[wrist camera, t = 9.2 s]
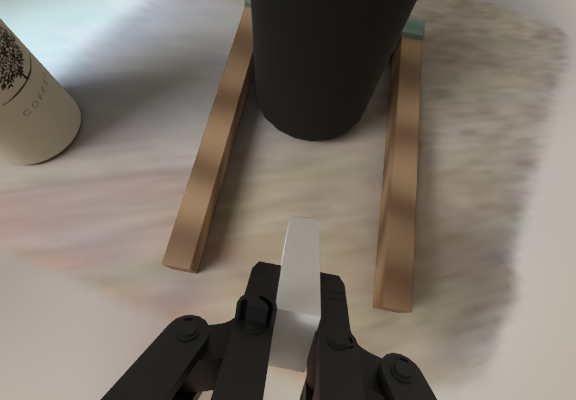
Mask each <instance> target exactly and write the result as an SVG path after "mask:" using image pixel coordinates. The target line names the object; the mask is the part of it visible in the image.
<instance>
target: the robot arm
mask: <svg viewBox="0 0 576 400" xmlns="http://www.w3.org/2000/svg"><path fill="white" fill-rule="evenodd" d="M345 294H346V293H345V285H344V283H343V282H342V280H341V279H340V277H339V276H336V275H331V274H326V273H321V272H320V253H319V220H313V219H308V218H303V217H298V216H293V215H290V219H289V224H288V229H287V234H286V239H285V244H284V249H283V254H282V259H281V265H275V264H270V263H265V262H260V261H259V262H258V263H257V264H256V265H255V266H254V267H253V268H252V271H251V274H250V278H249V281H248V285H247V288H246V291H245V294H244V295H243V296H242V297H240V299H239V300H238V302H237V307H236V314H235V318H234V319H232V320H231V321H228V322H226V323H222V324H215V325H208V324H207V322H206V321H205V320H204V319H202V318H201V317H199V316H194V315H185V316H182V317H179V318H176V319H175V320H174V321H172V322H171V323H170V324H169V325H168V326H167V327H166V328H165V329H164V330H163V332H162V333H161V334H160V335H159V336H158V337H157V338H156V339H155V340H154V341H153V343H152V344H151V345H150V346H149V347H148V348H147V349H146V350H145V351H144V353H143V354H142V355H141V356H140V357H139V358H138V359H137V360H136V362H134V364H133V365H132V366H131V367H130V368H129V369H128V370H127V371H126V373H125V374H124V375H123V376H122V377H121V378H120V379H119V380H118V381H117V382H116V383H115V385H114V386H113V387H112V388H111V389H110V390H109V391H108V392H107V394H105V396H104V397H103V398H102V399H101V400H198V398H199V397H200V395H201V394H202V391H208V390H214V391H213V394H212V397H211V400H263V395H264V388H265V382H266V375H267V368H268V365H270V366H275V367H280V368H285V369H290V370H295V371H301V372H305V369H306V366H307V377H306V380H305V383H304V386H303V390H302V393H301V396H300V400H437V399H436V397H435V395H434V393H433V392H432V390H431V388H430V386H429V385H428V383H427V381H426V379H425V378H424V376H423V374H422V372H421V371H420V369H419V368H418V367H417V365H416V364H415V363H414V362H412V361H411V360H410V359H409V358H407V357H405V356H403V355H401V354H396V353H390V354H386V355H385V356H384V357H383V358H380V357H378V356H375V355H373V354H371V353H369V352H368V351H366V350H364V349H363V348H362V347H360V346H359V345H358V344H357V341H356V338H355V337H354V336H353V335H352V333H351V331H350V324H349V316H348V308H347V303H346V302H347V301H346V295H345Z"/></svg>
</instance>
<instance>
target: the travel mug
mask: <svg viewBox="0 0 576 400" xmlns="http://www.w3.org/2000/svg"><path fill="white" fill-rule="evenodd" d="M80 123H81V113H80V109H79V107H78V105H77V103H76V102H75V100H74V99H73V98H72V97H71V96H70V95H69V94H68V93H67V92H66V90H65V89H64V88H63V87H62V86H61V85H60V84H59V83H58V82H57V81H56V79H55V78H54V77H53V76H52V75H51V74H50V73H49V72H48V71H47V70H46V68H45V67H44V66H43V65H42V64H41V63H40V62H39V61H38V60H37V59H36V57H35V56H34V55H33V54H32V53H31V52H30V51H29V50H28V49H27V48H26V47H25V45H24V44H23V43H22V42H21V41H20V40H19V39H18V38H17V37H16V36H15V34H14V33H13V32H12V31H11V30H10V29H9V28H8V27H7V26H6V25H5V23H4V22H3V21H2V20H1V19H0V160H1V161H3V162H6V163H9V164H15V165H29V164H35V163H39V162H42V161H45V160H47V159H49V158H52V157H53V156H55V155H57V154H58V153H60V152H61V151H62V150H64V149H65V148H66V147H67V146H68V145H69V144H70V143H71V142H72V140H73V139H74V138H75V136H76V134H77V132H78V130H79V127H80Z"/></svg>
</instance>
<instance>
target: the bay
mask: <svg viewBox="0 0 576 400" xmlns="http://www.w3.org/2000/svg"><path fill="white" fill-rule="evenodd" d="M424 24H425V21H422V20H416V19H411V18H408V20H407V22H406V24H405V26H404V28H403V30H402V33H401V35H400V37H399V39H398V41H397V43H396V45H395V47H394V49H393V52H392V54H391V56H393V57H392V70H391V83H390V96H389V108H388V121H387V134H386V146H385V159H384V172H383V185H382V197H381V210H380V223H379V236H378V248H377V261H376V274H375V287H374V299H373V308H377V309H382V310H388V311H393V312H398V313H400V312H412V299H413V271H414V243H415V215H416V187H417V159H418V131H419V103H420V75H421V47H422V39H423V37H424ZM253 72H254V52H253V34H252V17H251V0H245V8H244V11H243V14H242V17H241V20H240V24H239V27H238V30H237V33H236V36H235V39H234V42H233V45H232V48H231V51H230V54H229V58H228V61H227V64H226V67H225V70H224V73H223V76H222V79H221V82H220V85H219V88H218V92H217V95H216V98H215V101H214V104H213V107H212V110H211V113H210V116H209V119H208V123H207V126H206V129H205V132H204V135H203V138H202V141H201V144H200V147H199V150H198V153H197V157H196V160H195V163H194V166H193V169H192V172H191V175H190V178H189V181H188V184H187V187H186V191H185V194H184V197H183V200H182V203H181V206H180V209H179V212H178V215H177V218H176V221H175V225H174V228H173V231H172V234H171V237H170V240H169V243H168V246H167V249H166V252H165V255H164V259H163V262H162V265H165V266H167V267H169V268H171V269H175V270H180V271H185V272H190V273H196V274H197V272H198V268H199V265H200V261H201V258H202V254H203V251H204V247H205V243H206V240H207V236H208V233H209V229H210V226H211V222H212V218H213V215H214V211H215V208H216V204H217V201H218V197H219V193H220V190H221V186H222V183H223V179H224V176H225V172H226V168H227V165H228V161H229V158H230V154H231V151H232V147H233V143H234V140H235V136H236V133H237V129H238V126H239V122H240V118H241V115H242V111H243V108H244V104H245V101H246V97H247V93H248V90H249V86H250V83H251V79H252V76H253Z"/></svg>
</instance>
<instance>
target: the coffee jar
mask: <svg viewBox="0 0 576 400" xmlns="http://www.w3.org/2000/svg"><path fill="white" fill-rule="evenodd" d="M416 1H417V0H251V17H252V34H253V52H254V70H255V87H256V96H257V103H258V105H259V107H260V109H261V110H262V112H263V114H264V116H265V118H266V119H267V120H268V121H269V122H271V123H272V124H273V125H274V126H275V127H276V128H277V129H278V130H280V131H282V132H284V133H286V134H288V135H290V136H292V137H294V138H297V139H303V140H308V141H317V140H328V139H331V138H334V137H336V136H339V135H341V134H343V133H345V132H347V131H348V130H349V129H350V128H352V127H353V126H354V125H355V124H356V123H357V122H359V120H360V118H361V116H362V114H363V112H364V110H365V109H366V106H367V104H368V102H369V100H370V98H371V96H372V94H373V92H374V90H375V87H376V85H377V83H378V81H379V79H380V77H381V75H382V73H383V71H384V68H385V66H386V64H387V62H388V60H389V58H390V56H391V54H392V52H393V49H394V47H395V45H396V43H397V41H398V39H399V37H400V35H401V33H402V30H403V28H404V26H405V24H406V22H407V20H408V18H409V16H410V14H411V11H412V9H413V7H414V5H415V3H416Z"/></svg>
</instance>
